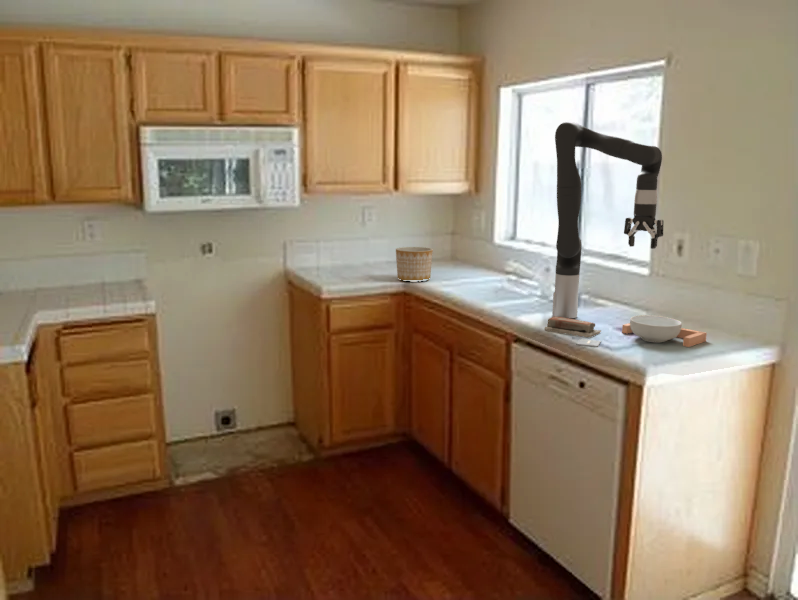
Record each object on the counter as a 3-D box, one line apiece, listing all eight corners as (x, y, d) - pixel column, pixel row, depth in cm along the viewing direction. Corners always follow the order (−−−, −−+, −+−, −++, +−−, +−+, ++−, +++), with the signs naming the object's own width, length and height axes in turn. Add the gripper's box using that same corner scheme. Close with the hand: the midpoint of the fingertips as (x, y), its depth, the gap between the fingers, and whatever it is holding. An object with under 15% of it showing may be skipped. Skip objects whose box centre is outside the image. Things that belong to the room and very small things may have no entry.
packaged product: (544, 318, 248) (556, 314, 256) (543, 331, 249) (555, 326, 256) (590, 325, 237) (602, 320, 244) (590, 339, 238) (601, 333, 245)
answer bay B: (688, 347, 226) (689, 338, 225) (622, 332, 245) (622, 324, 244) (705, 341, 233) (706, 332, 233) (640, 328, 252) (640, 319, 252)
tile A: (576, 344, 228) (576, 343, 228) (580, 339, 235) (580, 338, 235) (597, 347, 226) (597, 345, 225) (600, 342, 232) (601, 340, 232)
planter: (392, 277, 364) (392, 247, 360) (427, 276, 367) (428, 246, 364) (399, 283, 345) (399, 251, 342) (436, 282, 348) (436, 250, 345)
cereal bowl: (662, 348, 224) (663, 328, 222) (619, 338, 237) (620, 319, 235) (690, 341, 234) (691, 321, 232) (647, 331, 247) (648, 312, 245)
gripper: (669, 203, 241) (665, 248, 244) (633, 201, 251) (630, 244, 254) (658, 203, 236) (654, 250, 239) (622, 202, 247) (619, 246, 250)
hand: (642, 247), depth 247 cm, fingers open, 8 cm apart
